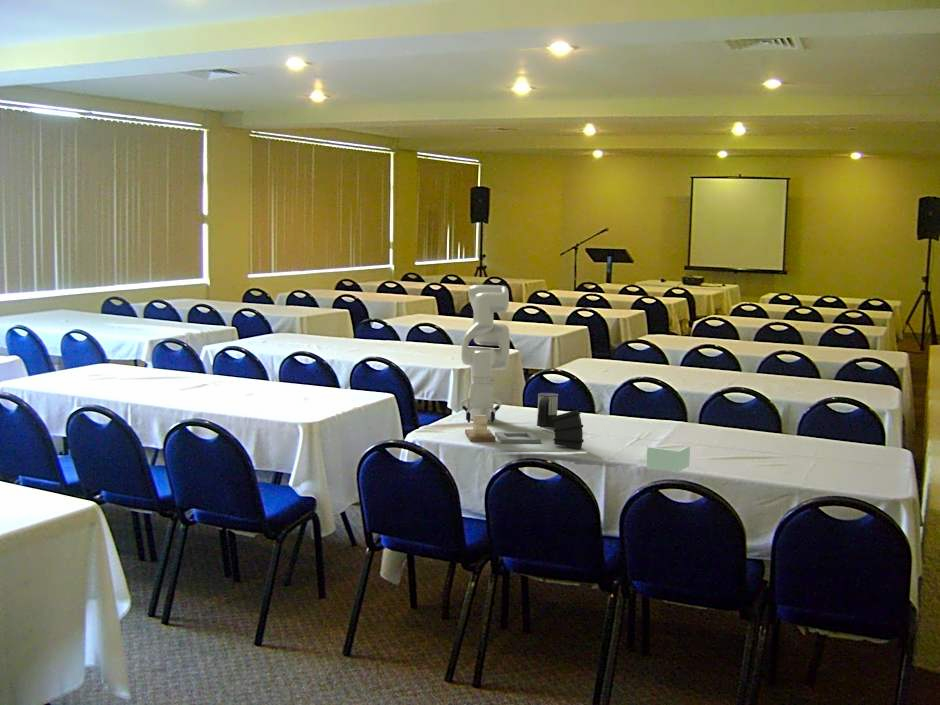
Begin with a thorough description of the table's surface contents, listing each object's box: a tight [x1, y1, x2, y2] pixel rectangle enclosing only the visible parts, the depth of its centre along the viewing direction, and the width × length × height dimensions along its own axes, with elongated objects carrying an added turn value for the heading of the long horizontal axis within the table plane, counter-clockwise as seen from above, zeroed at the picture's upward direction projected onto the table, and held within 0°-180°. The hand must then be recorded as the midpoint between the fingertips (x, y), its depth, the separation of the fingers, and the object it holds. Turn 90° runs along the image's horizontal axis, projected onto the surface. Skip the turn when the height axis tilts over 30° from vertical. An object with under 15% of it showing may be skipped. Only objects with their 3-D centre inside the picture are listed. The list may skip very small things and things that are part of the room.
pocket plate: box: [494, 431, 542, 444], centre depth 414 cm, size 16×16×2 cm
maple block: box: [472, 415, 488, 434], centre depth 414 cm, size 5×5×7 cm
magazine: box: [551, 409, 585, 450], centre depth 399 cm, size 4×13×15 cm, turn 65°
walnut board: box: [464, 428, 496, 443], centre depth 415 cm, size 16×10×2 cm, turn 8°
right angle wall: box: [645, 445, 691, 473], centre depth 372 cm, size 12×12×8 cm
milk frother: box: [536, 392, 559, 429], centre depth 439 cm, size 14×16×15 cm
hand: (480, 421), depth 415 cm, fingers open, 9 cm apart
